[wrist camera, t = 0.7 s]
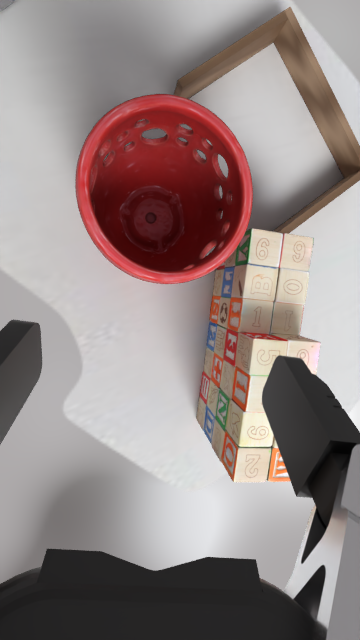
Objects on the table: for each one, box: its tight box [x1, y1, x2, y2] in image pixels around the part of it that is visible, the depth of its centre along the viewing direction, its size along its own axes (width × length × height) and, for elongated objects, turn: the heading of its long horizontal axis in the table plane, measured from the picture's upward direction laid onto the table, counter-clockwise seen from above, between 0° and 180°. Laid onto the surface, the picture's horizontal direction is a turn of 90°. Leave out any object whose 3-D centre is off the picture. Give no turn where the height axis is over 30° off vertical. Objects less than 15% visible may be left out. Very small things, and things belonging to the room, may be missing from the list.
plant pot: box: [76, 94, 253, 284], centre depth 27 cm, size 13×13×12 cm
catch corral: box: [174, 7, 360, 234], centre depth 33 cm, size 19×14×3 cm
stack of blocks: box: [196, 228, 320, 482], centre depth 30 cm, size 21×6×12 cm, turn 174°
